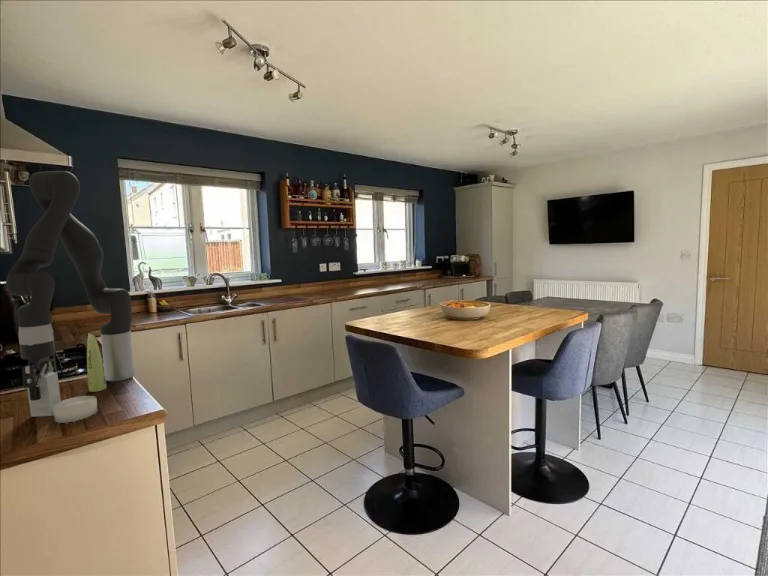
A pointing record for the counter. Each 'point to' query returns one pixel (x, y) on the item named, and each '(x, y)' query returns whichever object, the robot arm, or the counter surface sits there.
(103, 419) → the counter surface
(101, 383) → the tube
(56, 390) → the skincare box
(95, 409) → the stand
